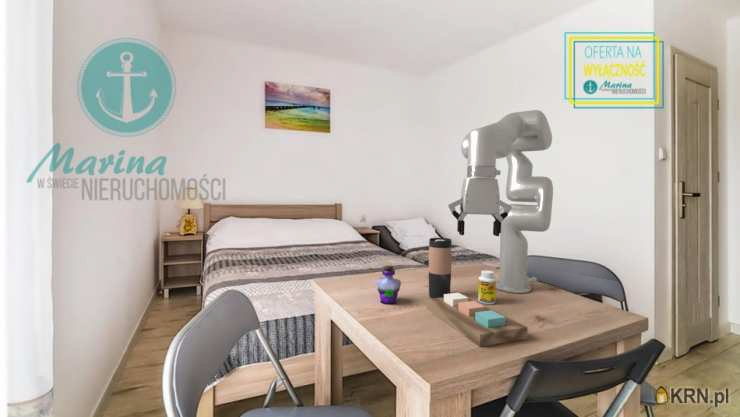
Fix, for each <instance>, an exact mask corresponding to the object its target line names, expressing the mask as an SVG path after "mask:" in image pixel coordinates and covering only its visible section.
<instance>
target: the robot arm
mask: <svg viewBox="0 0 740 417" xmlns="http://www.w3.org/2000/svg"><path fill="white" fill-rule="evenodd" d="M552 142H553V134H552V130H551V126H550V124H549V121H548V119H547V117H546V114H545V113H544V112H542V111H541V110H539V109H533V110H522V111H517V112H516V111H515V112H510V113H508V114H505V115H504V116H503V117H502V118H501V119H500V120H498V121H497V122H494V123H490V124H488V125H485V126H482V127H478V128H474V129H471V130H470V131H469V132H468V133H467V134H466V135H465V136H464V138H463V139H462V142H461V146H460V151H461V153H462V156H463V157H464V158H465V159H466V160H467V165H466V166H467V167H466V178H464V179H463V181H462V186H461V191H460V199H457V200H456V201H453V202H451V203H449V204H448V205H447V206H448V209H449V211H450V213H451V215H452V216H453V217H454V218H455V219H456V221H457V223H456V226H457V229H456V231H457V233H458V235H460V236H464V235H465V222H466V221H465V220H464V219H465V218H466V217H467V215H481V216H482V215H485V216H486V215H489V216H492V217H493V219H494V221H493V222H492V223H493V227H492V235H493V236H496V237H500V238H499V239H500V240H499V270H498V271H499V273H498V274H499V276H498V281H496V290H500V291H503V292H505V293H512V294H514V293H515V294H526V293H529V292H531V290H532V287H531V286H530V283H531V284H532V283H533V284H534V283H537V281H538V279H537V277H535V276H533V277H530V276H528V252H529V251H528V250H529V249H528V248H529V243H528V240H527V238H526V237H525V235H524V233H522V232H525V231H526V232H537V233H543V232H546V231H547V230H549V228H550V226H551V221H552V220H551V219H552V210H553V200H554V198H553V196H554V184H553V181H552V179H550V177H548V176H539V175H537V176H533V167H534V165H533V162H532V161H531V160H530V158H528V156H526V155H525V153H526V152H539V151H540V152H541V151H545V150H548V149H550V147H551V146H552ZM523 152H525V153H523ZM504 158H505V159H506V160H507V165H508V169H507V178H506V185H505V196H506V198H507V200H509V201H510V202H517V204H516V203H510V204H508V203H507V202H505V201H503V200H501V197H500V196H501V195H500V187H499V186H500V185H499V181H498V180H499V179H497V178H496V177H497V176H500V175H501V170H500V169H499V170H498V169H497V166H496V165H497V159H499V160H500V159H504ZM518 203H520V204H518ZM521 203H536V204H521ZM457 206H459V211H460V212H459V213H458V212H457V210H456V207H457Z"/></svg>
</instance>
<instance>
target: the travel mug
mask: <svg viewBox="0 0 740 417" xmlns="http://www.w3.org/2000/svg"><path fill="white" fill-rule="evenodd" d="M428 240H429V241H428V242H429V244H428V296H429V297H430V299H433V298H442V297H444V294H451V283H452V282H451V279H452V239H451V238H449V237H448V238H447V237H430V238H429V239H428Z"/></svg>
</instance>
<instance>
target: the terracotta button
mask: <svg viewBox="0 0 740 417" xmlns="http://www.w3.org/2000/svg"><path fill="white" fill-rule="evenodd" d="M458 311H460V312H462V313H463V314H465V315H467V316H468V317H470V316H475V312H482V311H485V306H483V305H481V304H479V303H477V302H475V301H468V302H460V303H458Z"/></svg>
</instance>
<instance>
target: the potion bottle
mask: <svg viewBox="0 0 740 417" xmlns="http://www.w3.org/2000/svg"><path fill="white" fill-rule="evenodd" d="M381 274H382V275H383V277H382V278H379V279H375V280H376V281H375V282H376V287H377V292H378V293H379V299H380V304H383V305H388V306H389V305H391V306H393V305H395V304H397V300H398V295H399V292H400V289H401V285H402V282H401V280H400V279H397V278H394V277H393V276H394V275H396V271H395V269H394V265H384V266H383V268H382V273H381Z"/></svg>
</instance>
